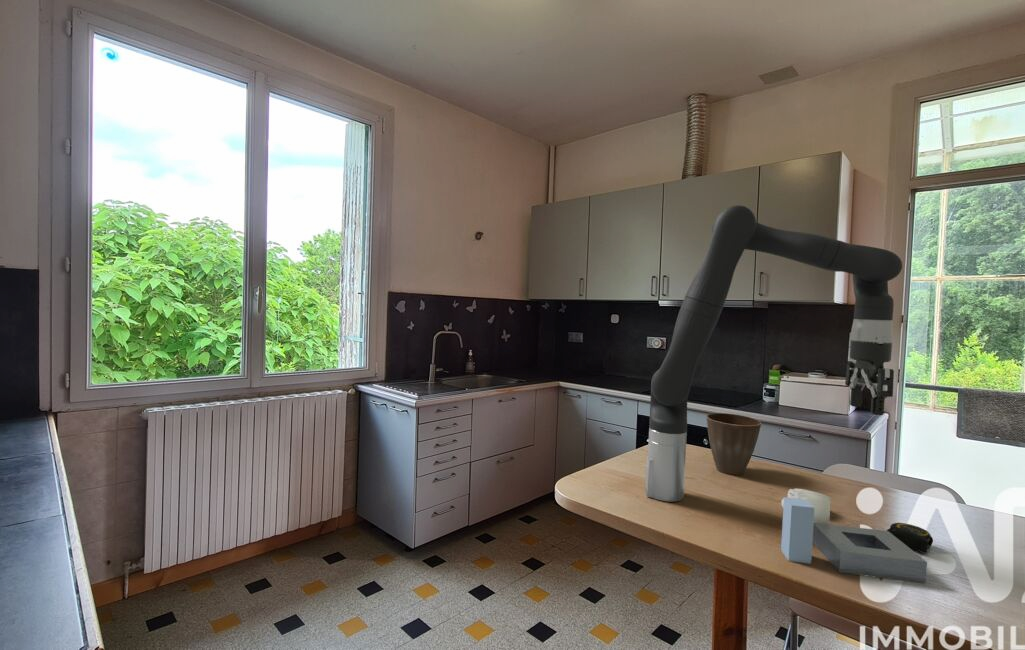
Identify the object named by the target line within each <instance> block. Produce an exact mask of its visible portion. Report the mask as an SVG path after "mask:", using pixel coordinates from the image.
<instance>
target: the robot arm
mask: <svg viewBox="0 0 1025 650" xmlns="http://www.w3.org/2000/svg"><path fill="white" fill-rule="evenodd" d="M711 229H712V230H711V233H712V235H711V238H710V242H709V245H708V248H707V252H706V255H705V257H704V259H703V261H702V263H701V264H700V267H698V268H699V269H698V270H697V272H696V274H695V275H694V277H693V279H692V281H691V283H690V285H689V287H688V290H687V292H686V293H685V295H684V296H685V297H684V298H683V302H681V306H680V309H679V311H678V315H677V318H676V321H675V325H674V329H673V333H672V337H671V343H670V346H669V348H668V351H667V353H666V356H665V357H664V359H663V362H662V363H661V365H660V367H659V369H658V370H656V371H655V372H654V373H653V375H652V378H651V383H650V405H649V407H650V408H649V424H648V425H649V428H648V443H647V444H648V448H647V450H648V451H647V453H646V467H645V468H646V471H645V472H646V473H645V493H646V497H647V498H653V499H656V500H658V501H663V502H668V503H669V502H671V503H674V502H680V501H682V500H684V495H685V475H686V474H685V473H686V453H687V452H686V451H687V436H688V433H687V432H688V397H689V394H690V391H691V387H692V382H693V380H694V379H693V378H694V376H695V375H694V374H695V371H696V368H697V364H698V363H699V359H700V357H701V355H702V353H703V351H704V350H705V347H706V345H707V344H708V342H709V340H710V338H711V335H712V333H713V331H714V329H715V327H716V325H717V323H718V321H719V319H720V315H721V314H722V311H723V309H724V305H725V303H726V300H727V297H728V295H729V291H730V288H731V285H732V281H733V278H734V274H735V271H736V268H737V265H738V263H739V261H740V260H741V257H742V256H743V253H744V251H745V250H747V251H749V250H750V251H753V252H759V253H760V252H761V253H765V254H769V255H774V256H778V257H782V258H785V259H788V260H790V261H791V260H792V261H794V262H798V263H801V264H804V265H808V266H812V267H815V268H818V269H822V270H826V271H829V272H830V271H831V272H838V273H839V272H841V273H848V274H850V275H852V284H853V286H852V287H853V294H854V297H855V298H854V299H855V301H854V310H853V321H852V326H851V333H850V346H849V347H850V348H849V358H850V359H851V360H855V361H847V365H846V373H845V374H846V375H845V387H848V389H849V390H850V398H849V400H850V401H849V405H850V406H851V407H856V408H857V407H858V408H861V407H862V406H863V394H864V393H863V391H864V389H865V387H866V388H867V389H869V390H870V393H871V396H872V397H871V402H870V413H871V414H872V415H874V416H875V415H876V416H883V415H884V411H885V399H887V398H892V397H893V396H894V376H895V375H894V374H895V371H894V369H893V368H884V367H885V365H884V364H885V363H889V362H891V361H892V350H893V341H894V340H893V338H894V336H893V335H894V326H893V321H894V320H893V319H894V318H893V317H894V304H895V303H894V298H893V297H892V296H891V295H890V294H889V285H888V284H889V281H891V280H893V279H895V278H897V277H898V276H899V275H900V273H901V271H902V269H903V261H902V259H901V258H900V257H899V256H898V255H897V254H896V253H894V252H893V251H890V250H888V249H884V248H879V247H873V246H866V245H860V244H854V243H849V242H846V241H842V240H838V239H835V238H831V237H828V236H824V235H819V234H815V233H808V232H801V231H793V230H784V229H780V228H775V227H772V226H767V225H765V224H762V223H759V222H757V220H756V216H755V214H754V213H753V211H752V210H751V209H750V208H749V207H746V206H745V205H732V206H729V207H728V208H725V209H724V210H722V211H721V212H720V213H719V214H718V215H717V216H716V218H715V220H714V223H713V226H712V228H711Z"/></svg>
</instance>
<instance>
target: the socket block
mask: <svg viewBox="0 0 1025 650" xmlns="http://www.w3.org/2000/svg"><path fill="white" fill-rule="evenodd" d="M812 544H814V545H815V546H816V548H818V550H819V551H820V553H821V554H822V555H823V556H825V558H826V559H827V560H828V561H829V562H830V563H831V564H832V565H833V567H834V568H835V569H836V571H838V573H842V574H848V575H849V574H850V575H856V576H857V575H858V576H864V575H868V576H867V577H872V576H875V577H874V578H880V579H881V578H882V579H889V580H894V581H895V580H897V581H903V582H910V583H911V582H912V583H920V584H926V581H927V569H928V561H927V560H925V559H924V558H923V557H922V556H921V555H919V554H918V553H917V552H916V551H915V550H914V549H911V548H909V547H908V546H906V545H905V544H904V543H903V542H901V541H900V540H899V539H898V538H896V537H895V536H894V535H892V534H891V533H890V532H889V531H887V530H884V529H883V530H881V529H874V528H864V527H855V526H847V525H846V526H845V525H839V524H830V523H829V524H821V523H814V525H813V541H812Z"/></svg>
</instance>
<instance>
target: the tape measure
mask: <svg viewBox="0 0 1025 650" xmlns="http://www.w3.org/2000/svg"><path fill="white" fill-rule="evenodd" d="M886 531H889V532H890V533H891V534H892V535H894V536H895V537H896V538H898V539H899V540H900V541H901V542H903V543H904V544H905V545H906V546H908V547H909V548H910V549H911V550H913V551H917V552H920V553H923V554H927V552H928V550H930V548H931V547H932V545H933V544H934V539H933V537H932V536H931V534H930V532H929V531H928V530H926V529H925V528H922V527H920V526H917V525H914V524H909V523H906V522H895V523H892V524H891V525H890V526H889V528H887V529H886Z"/></svg>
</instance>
